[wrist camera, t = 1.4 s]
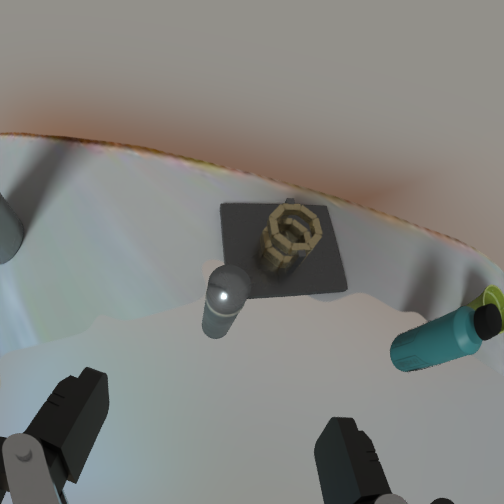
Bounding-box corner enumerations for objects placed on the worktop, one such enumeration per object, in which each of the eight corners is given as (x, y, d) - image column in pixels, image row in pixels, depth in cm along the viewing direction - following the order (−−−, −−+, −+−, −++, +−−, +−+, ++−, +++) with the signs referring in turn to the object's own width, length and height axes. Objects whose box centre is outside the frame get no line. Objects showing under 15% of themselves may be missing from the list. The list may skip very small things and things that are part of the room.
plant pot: (462, 352, 44) (495, 341, 36) (446, 309, 48) (478, 293, 40) (483, 334, 47) (513, 321, 39) (469, 294, 50) (497, 278, 43)
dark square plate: (227, 299, 41) (234, 282, 35) (219, 208, 47) (225, 179, 41) (344, 291, 45) (366, 274, 39) (323, 209, 51) (340, 185, 45)
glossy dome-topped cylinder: (202, 339, 38) (209, 307, 24) (200, 312, 39) (206, 264, 25) (230, 338, 39) (254, 304, 25) (227, 311, 40) (249, 263, 26)
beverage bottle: (391, 381, 40) (493, 357, 22) (377, 343, 42) (473, 303, 25) (418, 363, 42) (514, 332, 24) (404, 328, 44) (496, 284, 27)
